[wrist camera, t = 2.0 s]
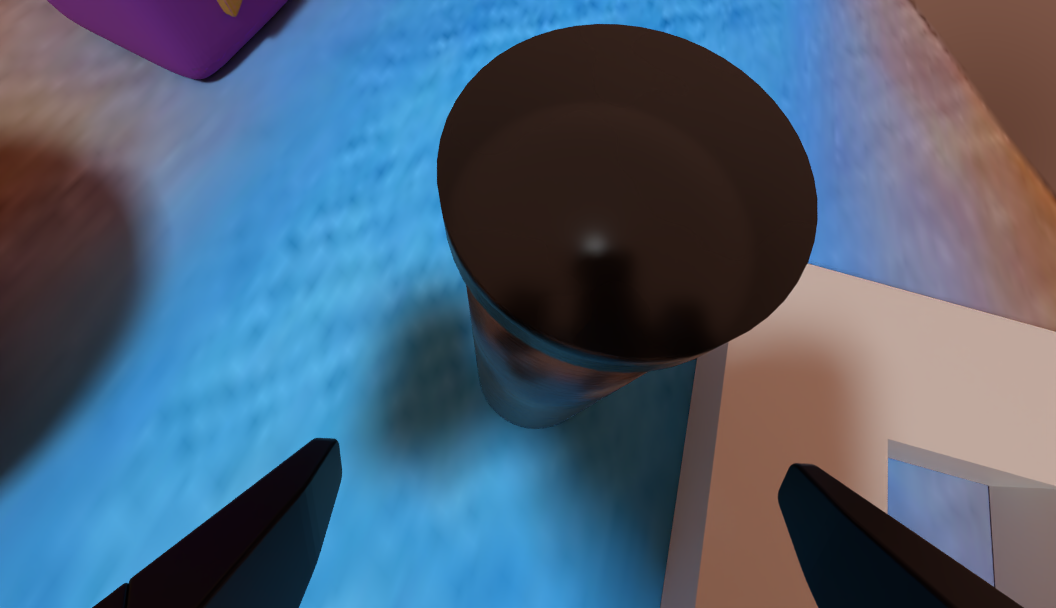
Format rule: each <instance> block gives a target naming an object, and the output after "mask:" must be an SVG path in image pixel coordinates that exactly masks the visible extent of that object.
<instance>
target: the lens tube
mask: <svg viewBox="0 0 1056 608" xmlns="http://www.w3.org/2000/svg"><path fill="white" fill-rule="evenodd" d="M437 185H438V191H439V198H440V204H441V209H442V214H443V220H444V225H445V230H446V235H447V240H448V243H449V246H450V250H451V253H452V256H453V259H454V262H455V264H456V266H457V268H458V270H459V272H460V274H461V276H462V278H463V280H464V282H465V283H466V287H467V294H468V301H469V308H470V316H471V323H472V330H473V338H474V345H475V352H476V359H477V367H478V374H479V381H480V386H481V389H482V392H483V394H484V396H485V398H486V400H487V402H488V403H489V405H490V406H491V407H492V408H493V410H494V411H495V412H496V413H497V414H499V415H500V416H501V417H502V418H504V419H505V420H507V421H509V422H511V423H512V424H515V425H518V426H520V427H525V428H533V429H539V428H547V427H551V426H554V425H557V424H559V423H561V422H563V421H565V420H567V419H569V418H570V417H572V416H574V415H575V414H577V413H579V412H581V411H582V410H584V409H586V408H587V407H589V406H591V405H592V404H594V403H596V402H597V401H599V400H601V399H603V398H604V397H606V396H608V395H609V394H611V393H613V392H614V391H616V390H618V389H620V388H621V387H623V386H625V385H626V384H628V383H630V382H631V381H633V380H635V379H637V378H638V377H640V376H642V375H643V374H645V373H647V372H649V371H654V370H659V369H665V368H670V367H674V366H677V365H679V364H682V363H685V362H688V361H691V360H694V359H696V358H698V357H700V356H702V355H704V354H706V353H708V352H710V351H711V350H713V349H715V348H717V347H719V346H721V345H723V344H725V343H727V342H729V341H731V340H733V339H735V338H737V337H739V336H741V335H743V334H744V333H746V332H748V331H750V330H751V329H752V328H754V327H755V326H757V325H758V324H759V323H761V322H762V321H764V320H765V319H766V318H768V317H769V316H770V315H771V314H772V313H773V312H774V311H775V310H776V309H777V308H778V307H779V306H780V305H781V304H782V303H783V302H784V301H785V300H786V298H787V297H788V295H789V294H790V293H791V291H792V290H793V288H794V287H795V286H796V284H797V283H798V281H799V279H800V277H801V275H802V273H803V271H804V269H805V267H806V265H807V263H808V260H809V257H810V254H811V251H812V247H813V244H814V240H815V233H816V226H817V194H816V188H815V181H814V176H813V173H812V170H811V166H810V163H809V160H808V156H807V154H806V152H805V150H804V147H803V145H802V143H801V141H800V139H799V137H798V135H797V133H796V132H795V130H794V128H793V127H792V125H791V123H790V122H789V120H788V118H787V117H786V116H785V114H784V113H783V112H782V110H781V109H780V108H779V107H778V105H777V104H776V103H775V101H774V100H773V99H772V98H771V97H770V96H769V95H768V94H767V93H766V92H765V91H764V90H763V89H762V88H761V87H760V86H759V85H758V84H757V83H756V82H755V81H754V80H752V79H751V78H750V77H749V76H748V75H746V74H745V73H744V72H743V71H742V70H740V69H739V68H737V67H736V66H734V65H733V64H731V63H730V62H728V61H727V60H726V59H724V58H722V57H721V56H719V55H717V54H715V53H713V52H712V51H710V50H708V49H706V48H704V47H702V46H700V45H697V44H695V43H693V42H690V41H688V40H686V39H683V38H680V37H677V36H674V35H671V34H668V33H665V32H661V31H656V30H652V29H647V28H643V27H636V26H627V25H617V24H593V25H582V26H573V27H568V28H563V29H558V30H553V31H550V32H547V33H544V34H541V35H537V36H534V37H532V38H530V39H528V40H525V41H523V42H521V43H519V44H517V45H515V46H513V47H511V48H510V49H508V50H506V51H505V52H503V53H501V54H500V55H498V56H497V57H496V58H494V59H493V60H492V61H491V62H489V63H488V64H487V65H486V66H484V67H483V68H482V69H481V70H480V71H479V72H478V73H477V74H476V75H475V76H474V77H473V78H472V80H471V81H470V82H469V83H468V84H467V85H466V87H465V88H464V90H463V91H462V92H461V94H460V95H459V97H458V98H457V100H456V101H455V103H454V105H453V107H452V109H451V111H450V113H449V115H448V117H447V120H446V123H445V126H444V129H443V132H442V135H441V138H440V144H439V151H438V158H437Z"/></svg>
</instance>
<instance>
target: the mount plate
mask: <svg viewBox="0 0 1056 608" xmlns="http://www.w3.org/2000/svg"><path fill="white" fill-rule="evenodd" d="M888 458H891V459H895V460H898V461H902V462H905V463H909V464H912V465H916V466H919V467H923V468H927V469H930V470H934V471H937V472H941V473H944V474H948V475H952V476H955V477H959V478H962V479H966V480H969V481H973V482H976V483H980V484H984V485H987V486H989V494H990V509H991V525H992V541H993V557H994V573H995V588H996V589H998V590H999V591H1001V592H1002V593H1003V594H1005V595H1006V596H1008V597H1009V598H1011V599H1012V600H1014V601H1015V602H1017V603H1018V604H1020V605H1021V606H1022V607H1024V608H1056V332H1054V331H1051V330H1047V329H1044V328H1040V327H1036V326H1033V325H1029V324H1025V323H1022V322H1018V321H1014V320H1011V319H1007V318H1004V317H1000V316H996V315H993V314H989V313H985V312H982V311H978V310H974V309H971V308H967V307H964V306H960V305H956V304H953V303H949V302H945V301H942V300H938V299H934V298H931V297H927V296H923V295H920V294H916V293H913V292H909V291H905V290H902V289H898V288H894V287H891V286H887V285H883V284H880V283H876V282H873V281H869V280H865V279H862V278H858V277H854V276H851V275H847V274H843V273H840V272H836V271H833V270H829V269H825V268H822V267H818V266H814V265H811V264H807V265H806V267H805V269H804V271H803V273H802V275H801V277H800V279H799V281H798V283H797V284H796V286H795V287H794V288H793V290H792V291H791V293H790V294H789V295H788V297H787V298H786V300H785V301H784V302H783V303H782V304H781V305H780V306H779V307H778V308H777V309H776V310H775V311H774V312H773V313H772V314H771V315H770V316H769V317H768V318H766V319H765V320H764V321H762V322H761V323H759V324H758V325H757V326H755V327H754V328H752V329H751V330H750V331H748V332H746V333H744V334H743V335H741V336H739V337H737V338H735V339H733V340H731V341H729V342H727V343H725V344H723V345H721V346H719V347H717V348H715V349H713V350H711V351H710V352H708V353H706V354H704V355H702V356H700V357H698V358H697V363H696V369H695V376H694V383H693V390H692V397H691V403H690V410H689V417H688V424H687V430H686V437H685V444H684V451H683V457H682V464H681V471H680V478H679V485H678V491H677V498H676V505H675V512H674V518H673V525H672V532H671V539H670V545H669V552H668V559H667V566H666V573H665V579H664V586H663V593H662V600H661V606H660V608H818V606H817V604H816V602H815V600H814V598H813V595H812V593H811V591H810V589H809V586H808V584H807V582H806V579H805V577H804V574H803V571H802V569H801V566H800V563H799V560H798V558H797V555H796V552H795V549H794V546H793V543H792V540H791V538H790V535H789V532H788V529H787V526H786V523H785V521H784V518H783V515H782V512H781V509H780V506H779V503H778V491H779V488H780V486H781V484H782V482H783V479H784V477H785V475H786V473H787V471H788V468H789V467H790V466H791V465H792V464H793V463H807V464H814V465H816V466H818V467H819V468H821V469H822V470H824V471H825V472H827V473H828V474H829V475H831V476H832V477H834V478H835V479H837V480H838V481H840V482H841V483H843V484H844V485H846V486H847V487H848V488H850V489H851V490H853V491H854V492H856V493H857V494H859V495H860V496H862V497H863V498H865V499H866V500H867V501H869V502H870V503H872V504H873V505H875V506H876V507H878V508H879V509H881V510H882V511H884V512H885V513H886V514H887V490H888Z"/></svg>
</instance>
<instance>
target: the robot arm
mask: <svg viewBox="0 0 1056 608" xmlns="http://www.w3.org/2000/svg"><path fill="white" fill-rule="evenodd" d="M341 478H342V465H341V457H340V448H339V443H338V441H337V440H336V439H332V438H315V439H313V440H311V441H310V442H309V443H307V444H306V445H305V446H303V447H302V448H301V449H300V450H298V451H297V452H296V453H294V454H293V455H292V456H290V457H289V458H288V459H286V460H285V461H284V462H283V463H281V464H280V465H279V466H277V467H276V468H275V469H273V470H272V471H271V472H269V473H268V474H267V475H266V476H264V477H263V478H262V479H260V480H259V481H258V482H256V483H255V484H254V485H252V486H251V487H250V488H249V489H247V490H246V491H245V492H243V493H242V494H241V495H239V496H238V497H237V498H235V499H234V500H233V501H232V502H230V503H229V504H228V505H226V506H225V507H224V508H222V509H221V510H220V511H218V512H217V513H216V514H215V515H213V516H212V517H211V518H209V519H208V520H207V521H205V522H204V523H203V524H201V525H200V526H199V527H198V528H196V529H195V530H194V531H192V532H191V533H190V534H188V535H187V536H186V537H184V538H183V539H182V540H180V541H179V542H178V543H177V544H175V545H174V546H173V547H171V548H170V549H169V550H167V551H166V552H165V553H163V554H162V555H161V556H160V557H158V558H157V559H156V560H154V561H153V562H152V563H150V564H149V565H148V566H146V567H145V568H144V569H143V570H141V571H140V572H139V573H137V574H136V575H135V576H133V577H132V578H131V579H130V581H129V584H128V583H124V584H123V585H121V586H120V587H119V588H117V589H116V590H115V591H113V592H112V593H111V594H110V595H108V596H107V597H106V598H104V599H103V600H102V601H100V602H99V603H98V604H96V605H95V606H94V607H92V608H299V606H300V603H301V601H302V598H303V596H304V594H305V591H306V589H307V586H308V584H309V581H310V579H311V577H312V574H313V571H314V569H315V566H316V564H317V561H318V558H319V555H320V551H321V548H322V545H323V541H324V538H325V534H326V531H327V528H328V524H329V521H330V517H331V514H332V511H333V507H334V504H335V500H336V497H337V493H338V490H339V487H340V483H341ZM778 503H779V506H780V509H781V512H782V515H783V518H784V521H785V523H786V526H787V529H788V532H789V535H790V538H791V540H792V543H793V546H794V549H795V552H796V555H797V558H798V560H799V563H800V566H801V569H802V571H803V574H804V577H805V579H806V582H807V584H808V586H809V589H810V591H811V593H812V595H813V598H814V600H815V602H816V604H817V606H818V608H1024V607H1022V606H1021V605H1020V604H1018V603H1017V602H1015V601H1014V600H1012V599H1011V598H1009V597H1008V596H1006V595H1005V594H1003V593H1002V592H1001V591H999V590H998V589H996V588H995V587H993V586H992V585H990V584H989V583H987V582H986V581H984V580H983V579H982V578H980V577H979V576H977V575H976V574H974V573H973V572H971V571H970V570H968V569H967V568H965V567H964V566H963V565H961V564H960V563H958V562H957V561H955V560H954V559H952V558H951V557H949V556H948V555H946V554H945V553H944V552H942V551H941V550H939V549H938V548H936V547H935V546H933V545H932V544H930V543H929V542H927V541H926V540H925V539H923V538H922V537H920V536H919V535H917V534H916V533H914V532H913V531H911V530H910V529H908V528H907V527H905V526H904V525H903V524H901V523H900V522H898V521H897V520H895V519H894V518H892V517H891V516H889V515H888V514H886V513H885V512H884V511H882V510H881V509H879V508H878V507H876V506H875V505H873V504H872V503H870V502H869V501H867V500H866V499H865V498H863V497H862V496H860V495H859V494H857V493H856V492H854V491H853V490H851V489H850V488H848V487H847V486H846V485H844V484H843V483H841V482H840V481H838V480H837V479H835V478H834V477H832V476H831V475H829V474H828V473H827V472H825V471H824V470H822V469H821V468H819V467H818V466H816V465H814V464H807V463H793V464H792V465H791V466H790V467H789V468H788V471H787V473H786V475H785V477H784V479H783V482H782V484H781V486H780V488H779V491H778Z"/></svg>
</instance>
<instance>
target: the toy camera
mask: <svg viewBox="0 0 1056 608" xmlns="http://www.w3.org/2000/svg"><path fill="white" fill-rule="evenodd" d="M47 1H48V2H49V3H51V4H52V5H53V6H54V7H55V8H56V9H57V10H58V11H60V12H61V13H62V14H63V15H65V16H66V17H67V18H69V19H70V20H72V21H73V22H75V23H77V24H79V25H80V26H82V27H84V28H86V29H88V30H89V31H91V32H93V33H95V34H97V35H99V36H101V37H103V38H105V39H107V40H109V41H111V42H113V43H115V44H117V45H119V46H121V47H123V48H125V49H127V50H129V51H131V52H133V53H135V54H137V55H139V56H141V57H143V58H145V59H147V60H149V61H151V62H153V63H155V64H157V65H159V66H161V67H163V68H165V69H167V70H169V71H171V72H174V73H176V74H179V75H181V76H184V77H188V78H191V79H203V78H206V77H208V76H210V75H212V74H213V73H215V72H216V71H217V70H218V69H220V68H221V67H222V66H223V65H224V64H225V63H226V62H227V61H228V60H230V59H231V58H232V57H233V56H234V55H235V54H236V53H237V52H238V51H239V50H240V49H241V48H242V47H243V46H244V45H245V44H246V43H247V42H248V41H249V40H250V39H251V38H252V37H253V36H254V35H255V34H256V33H257V32H258V31H259V30H260V29H261V28H262V27H263V26H264V25H265V24H266V23H267V22H268V21H269V20H270V19H271V18H272V17H273V16H274V15H275V14H276V12H277V11H278V10H279V9H280V8H281V7H282V6H283V5H284V4H285V3H286V2H287V1H288V0H47Z"/></svg>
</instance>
